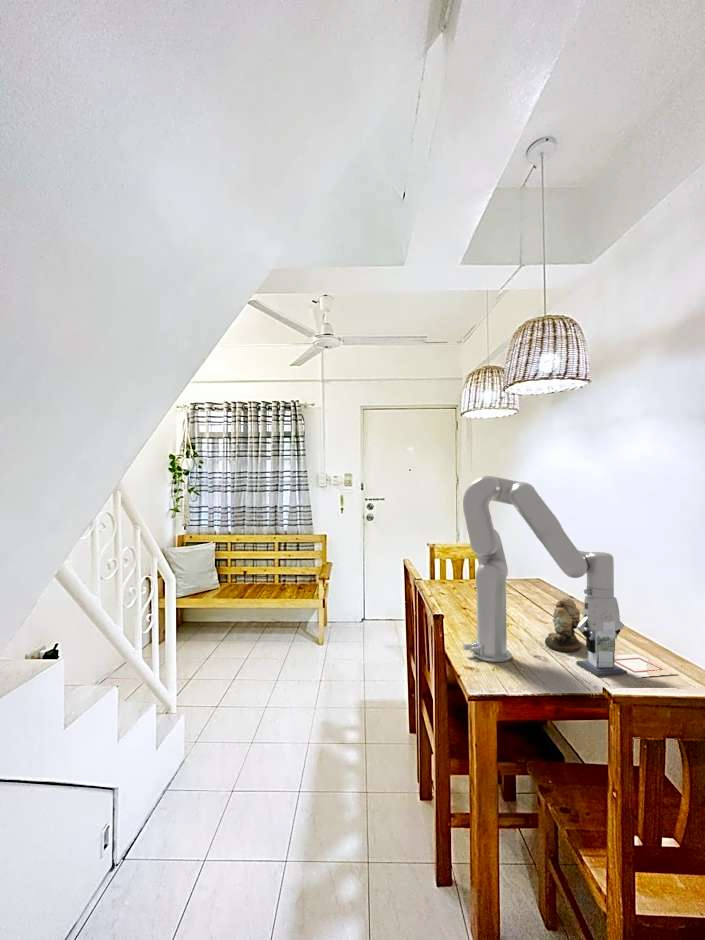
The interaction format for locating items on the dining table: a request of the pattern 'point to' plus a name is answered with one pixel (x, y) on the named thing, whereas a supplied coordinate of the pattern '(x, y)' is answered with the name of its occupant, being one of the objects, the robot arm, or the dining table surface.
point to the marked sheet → (634, 665)
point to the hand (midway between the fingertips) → (600, 650)
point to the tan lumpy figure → (564, 627)
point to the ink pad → (601, 669)
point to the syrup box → (603, 647)
